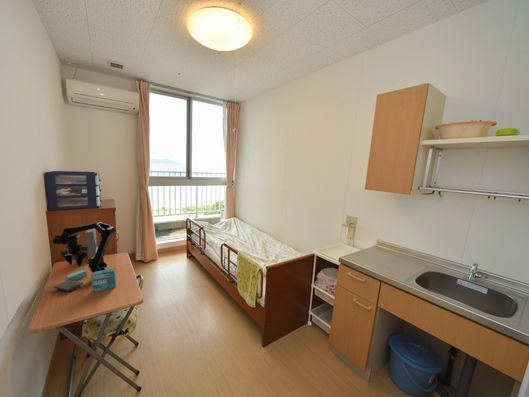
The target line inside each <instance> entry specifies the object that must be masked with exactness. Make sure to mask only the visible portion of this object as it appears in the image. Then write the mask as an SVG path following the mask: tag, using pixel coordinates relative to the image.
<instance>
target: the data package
mask: <svg viewBox="0 0 529 397" xmlns="http://www.w3.org/2000/svg"><path fill="white" fill-rule="evenodd" d="M90 279H91V288H92V292H94V293H97V292H103V291H106V290H110V289H111V290H112V289H115V287H116V284H117V278H116V271H115V269H114V268H108V269H105V270H101V271H96V272H92V274H91V278H90Z"/></svg>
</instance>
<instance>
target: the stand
mask: <svg viewBox="0 0 529 397" xmlns="http://www.w3.org/2000/svg"><path fill="white" fill-rule="evenodd" d="M83 284H84V282H82V281H78V280H76V281H74V280H67V281H66V280H65V281H63V282H61V283H57V284H56V285H55V284H54V286H53V288H55V289H57V290H59V291H61V292H62V291H63V292H66V293H70V292H72V291H74V290H77V289H78V288H81V285H83Z"/></svg>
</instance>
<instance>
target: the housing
mask: <svg viewBox="0 0 529 397" xmlns="http://www.w3.org/2000/svg"><path fill="white" fill-rule="evenodd" d="M87 276H88V275H87V271H86V270H83V269H81V270H78V271H76V272H73V273H70V274H67V275H65V279H66V280H65V281H67V280H74V281H78V280H80V279H83V278H86V277H87Z"/></svg>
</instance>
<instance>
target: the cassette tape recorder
mask: <svg viewBox="0 0 529 397" xmlns="http://www.w3.org/2000/svg"><path fill="white" fill-rule="evenodd" d="M97 238H98V237H97V230H96V229H90V230H86V231H85V240H86V246H88V249H87V257H88V259H87V260H88V261H90V259H91V258H92V257H94V256H95V255H96V252H97V249H98V247H99V246H98V239H97Z"/></svg>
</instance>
